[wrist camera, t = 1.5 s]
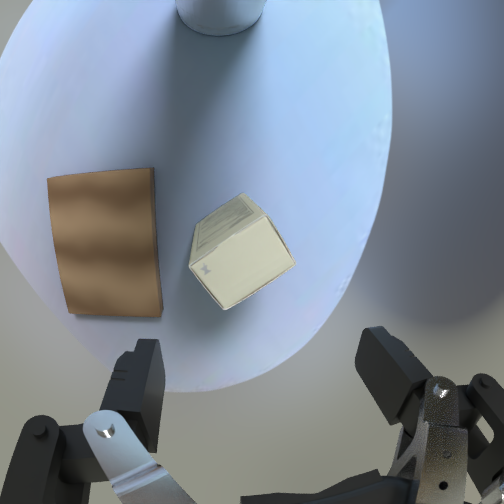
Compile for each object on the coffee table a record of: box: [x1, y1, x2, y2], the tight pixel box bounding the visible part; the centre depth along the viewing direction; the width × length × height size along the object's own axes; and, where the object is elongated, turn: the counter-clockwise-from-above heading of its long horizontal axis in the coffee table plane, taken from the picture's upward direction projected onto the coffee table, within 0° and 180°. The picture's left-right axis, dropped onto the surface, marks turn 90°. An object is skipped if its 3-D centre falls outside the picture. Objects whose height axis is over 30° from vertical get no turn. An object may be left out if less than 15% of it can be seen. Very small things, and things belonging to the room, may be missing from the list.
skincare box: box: [189, 193, 296, 310], centre depth 25 cm, size 6×4×12 cm
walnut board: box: [47, 168, 163, 317], centre depth 28 cm, size 16×12×2 cm
